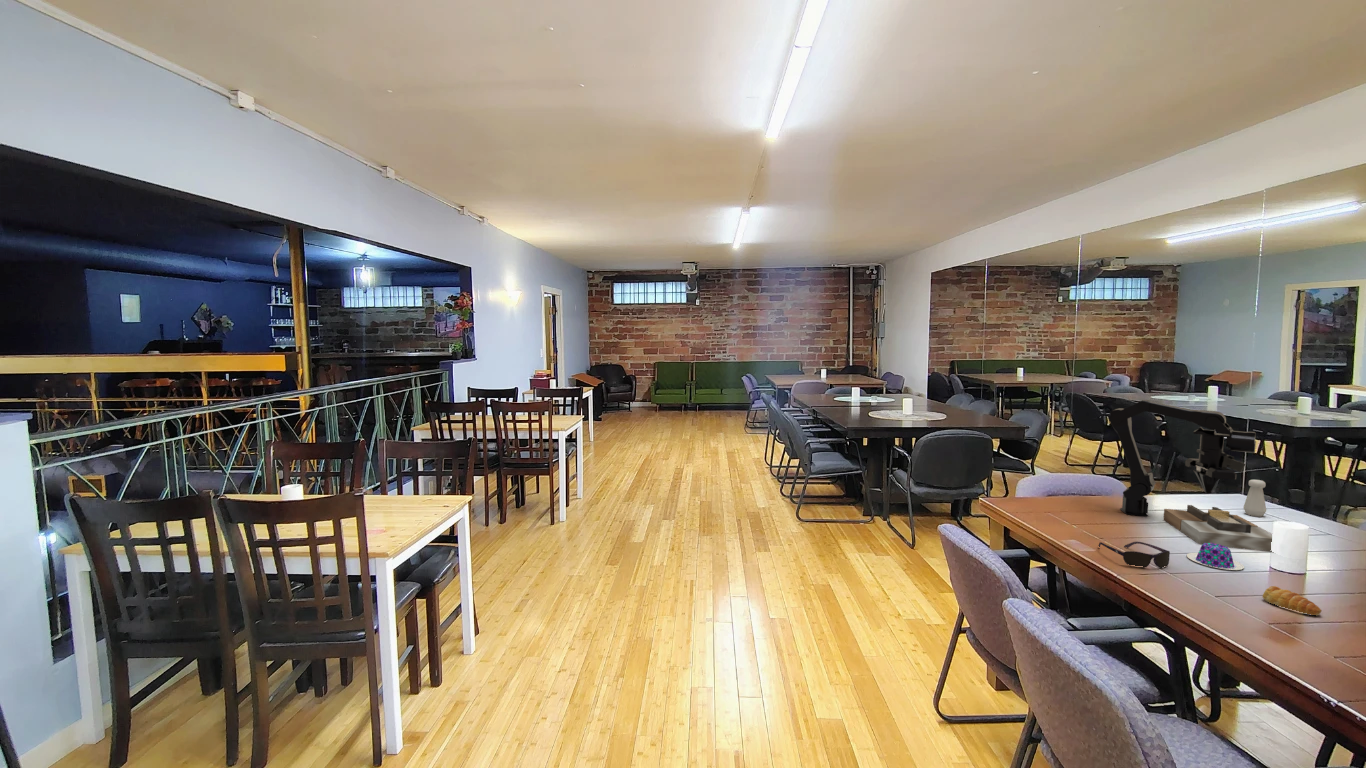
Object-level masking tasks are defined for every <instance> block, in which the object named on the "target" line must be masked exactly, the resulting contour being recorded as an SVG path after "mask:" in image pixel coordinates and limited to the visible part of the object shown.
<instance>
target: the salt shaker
mask: <svg viewBox="0 0 1366 768" xmlns="http://www.w3.org/2000/svg"><path fill="white" fill-rule="evenodd" d="M1266 485H1267V484H1266V482H1265V481H1264V480H1262V479H1261V480H1260V479H1250V480H1248V486H1249V489H1248V492H1247V496H1246V498H1245V502H1244V503H1243V510H1244V513H1245V514H1246V515H1247V514H1248V516H1250V515H1251V516H1252V517H1257V518H1261V517H1264V515H1265V514H1266V513H1267V507H1266V501H1265V494H1264V490H1263V489H1264V488H1266ZM1251 516H1250V517H1251Z"/></svg>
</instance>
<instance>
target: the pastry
mask: <svg viewBox="0 0 1366 768" xmlns="http://www.w3.org/2000/svg"><path fill="white" fill-rule="evenodd" d="M1262 598H1263V599H1264V601H1265V602H1266V603H1268V602H1269V603H1268V604H1270V603H1271V605H1274V604H1275V605H1274V606H1276V605H1278V606H1281V607H1285V608H1288V609H1292V610H1296V611H1299V612H1303V613H1307V614H1311V615H1316V616H1320V614H1322V609H1321V607H1319V605H1316V603H1314V602H1312V601H1311V600H1309V599H1308V598H1306V597H1303V596H1301V595H1300V594H1299V593H1297V592H1293V591H1291V590H1289V589H1282V588H1280V587H1279V586H1276V585H1271V586H1269V587H1268V588H1266V589H1265V591H1264V592H1263V594H1262Z"/></svg>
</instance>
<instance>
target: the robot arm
mask: <svg viewBox="0 0 1366 768" xmlns="http://www.w3.org/2000/svg"><path fill="white" fill-rule="evenodd" d="M1144 412H1147V413H1151V414H1152V413H1153V414H1157V415H1162V416H1165V417H1169V418H1170V417H1171V418H1174V419H1179V420H1183V421H1187V422H1190V423H1192V424H1194V425H1197V426H1198V428H1197V429H1195V430H1194V431H1193V432H1192V433H1193V434H1194V435H1200V440H1199V442H1200V443H1199V449H1196V453H1198V458H1191V457H1188V458H1186V459H1185V462H1184V464H1185V465H1184V466H1185V467H1187V468H1192V467H1196V469H1193V473H1194V474H1195V475H1196V477H1197V479H1198V481H1199V483H1200V485H1201V488H1202V489H1203V491H1204V493H1206V494H1211V492H1212V491H1213V489H1214V487H1215V485H1216V484H1217V482H1218V481H1219V480H1220V479H1221V480H1223V479H1224V480H1233V481H1234V480H1237V472H1238V473H1242V471H1243V470H1244V468H1245V466H1246V463H1244V462H1241V461H1239V460H1236V459H1235V456H1232V455H1230V454H1227V453H1226V452H1224V443H1225V447H1226V448H1228V449H1229V450H1230V451H1232V452H1243V453H1250V454H1255V453H1256V445H1257V441H1256V434H1257V433H1256V431H1241V430H1234V429H1233V428H1232V427H1231V426H1230V425H1229V424H1228V423H1227V417H1226V416H1225V414H1224V413H1223V412H1220V411H1216V410H1205V409H1203V410H1202V409H1189V408H1184V407H1180V406H1175V405H1170V404H1165V403H1161V402H1158V401H1157V402H1156V401H1151V400H1149V399H1142V400H1140V401H1138V402H1137V403H1134V404H1132V405H1130V406H1127V407H1126V408H1122V407H1121V408H1120V407H1119V408H1115V409H1113V410H1111V411H1110V412H1109V413H1108V414H1107V419H1108V422H1109V423H1110V425H1111V427H1112V428H1113V429H1114V432H1116V434H1117V435H1118V438H1119V442H1120V444H1121V447H1122V451H1123V453H1124V455H1125V456H1124V457H1125V459H1126V462H1127V466H1128V469H1129V483H1130V486H1129V487H1127V488H1126V489H1124V490H1123V492H1122V494H1123V495H1122V503H1121V504H1122V505H1121V507H1120V508H1119V511H1121V512H1123V513H1124V514H1125V515H1129V516H1141V517H1149V514H1148V513H1149V511H1148V510H1149V502H1148V499H1147V498H1146V497H1145V496H1148V495H1150V494H1151V492H1152V491H1153V490H1154V489H1155V485H1156V484H1157V482H1156V481H1155V479H1154V474H1153V472H1147V470H1146V469H1145V468H1144V467H1145V466H1144V464H1143V462H1142V459H1141V455H1140V453H1139V449H1138V446H1137V444H1136V441H1135V438H1134V434H1133V430H1132V427H1133V425H1132V424H1133V422H1132V418H1133V417H1134V416H1135V417H1136V416H1137V415H1139V414H1142V413H1144ZM1199 426H1200V427H1199ZM1204 428H1205V429H1204ZM1218 432H1219V433H1218ZM1225 438H1226V441H1225ZM1235 471H1237V472H1235Z"/></svg>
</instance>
